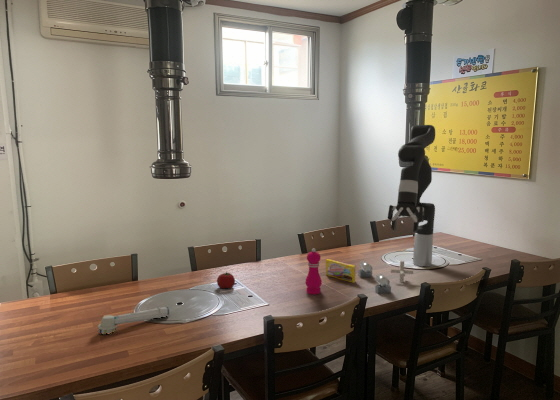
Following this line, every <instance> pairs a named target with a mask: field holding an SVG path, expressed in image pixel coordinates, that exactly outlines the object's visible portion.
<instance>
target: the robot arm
mask: <svg viewBox="0 0 560 400" xmlns="http://www.w3.org/2000/svg"><path fill="white" fill-rule="evenodd" d="M435 139H436V127H435V126H433V125H432V124H415V125H412V126H411V128H410V141H409V142H407V143H405V144H403V145H401V146H400V148H399V149H398V152H397V157H398V159H399V161H401V162H402V163H412V164H411V165H409V166H404V167H402V168H401V170H400V179H399V186H398V189H397V190H398V194H397V204H396V205H391V204H390V205H388V213H387V219H388V220H390V221H391V227H390V228H391V229H392V231H394V232H395V231H396V230H397V220H399V219H400V218H401V217H404V218H405V217H407V218H410V217H411V219H412V220H413V230H412V231H413V233H414V244H413V253H412V255H413V256H412V263H413V265H415V266H417V267H418V266H419V267H423V266H428V267H431V266H432V265H433V247H434V245H433V244H434V243H433V242H434V228H435V227H434V224H435V217H436V215H435V214H436V205H435V204H434V203H433V202H432V203H431V202H421V201H420V200H421V197H422V196H423V194H424V193H425V191H426V190H427V189H428V188H429V186H430V184H431V183H432V180H433V177H432V176H433V175H432V173H433V169H432V166H431V164H430V163H429V162H428V160H427V158H426V156H425V155H426V150H425V149H426V148H427V147H428V146H430V145H432V144H433V143H434V142H435ZM395 211H397V212H396V213H395V214H394V212H395ZM424 222H426V223H424ZM420 223H424V224H422V225H419V224H420ZM430 265H431V266H430Z"/></svg>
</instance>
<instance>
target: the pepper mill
mask: <svg viewBox="0 0 560 400" xmlns="http://www.w3.org/2000/svg"><path fill="white" fill-rule="evenodd" d="M316 250H317V249H316V248H312V249H311V251H309V252H308V253H307V254H306V260H307V261H308V262H307V267H308V273H307V276H306V278H305V282H304V284H305V285H306V293H307V294H309V295H319V294H321V286H322V283H323V282H322V277H321V275H320V273H319V266H320V261H321V254H320V253H319V252H317V251H316Z"/></svg>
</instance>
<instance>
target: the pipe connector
mask: <svg viewBox="0 0 560 400" xmlns="http://www.w3.org/2000/svg"><path fill="white" fill-rule="evenodd" d="M399 262H400V263H399V267H398V268H397V269H396V268H391V269H390V273H391V274H399V283H404V280H405V279H404V278H405V277H406V274H409V275H410V274H411V275H414V270H413V269H405V261H404V260H400V261H399Z"/></svg>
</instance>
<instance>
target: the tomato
mask: <svg viewBox="0 0 560 400" xmlns="http://www.w3.org/2000/svg"><path fill="white" fill-rule="evenodd" d="M216 283H217V287H219V289H225V288H229V289H231V288H234V285H235V283H236V280H235V276H234V275H233V274H232V273H230V272H227V271H226V272H223V273H221V274H219V275H218V277H217V279H216Z"/></svg>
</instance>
